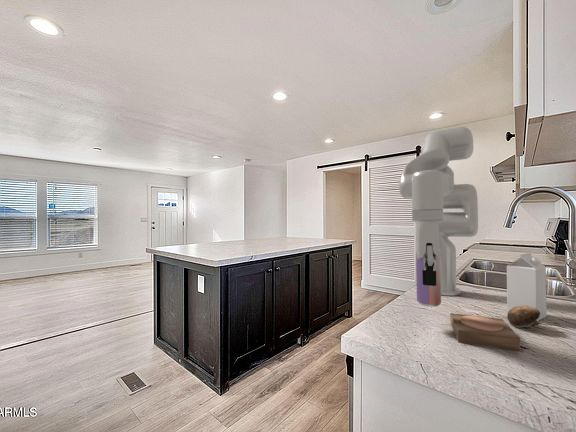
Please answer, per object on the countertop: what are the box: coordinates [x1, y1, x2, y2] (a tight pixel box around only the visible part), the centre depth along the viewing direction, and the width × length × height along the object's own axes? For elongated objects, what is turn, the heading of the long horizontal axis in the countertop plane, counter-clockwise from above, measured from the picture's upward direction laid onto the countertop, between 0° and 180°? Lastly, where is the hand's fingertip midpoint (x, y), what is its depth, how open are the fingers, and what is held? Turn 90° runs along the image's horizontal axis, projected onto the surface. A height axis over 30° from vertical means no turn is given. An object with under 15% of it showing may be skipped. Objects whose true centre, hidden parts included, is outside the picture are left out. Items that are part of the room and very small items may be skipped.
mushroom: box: [507, 306, 542, 329], centre depth 74 cm, size 8×8×6 cm
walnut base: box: [449, 312, 521, 352], centre depth 69 cm, size 12×12×4 cm
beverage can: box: [415, 248, 442, 308], centre depth 74 cm, size 6×6×15 cm
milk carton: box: [506, 251, 547, 322], centre depth 82 cm, size 7×7×19 cm
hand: (428, 281), depth 74 cm, fingers closed on beverage can, 6 cm apart
